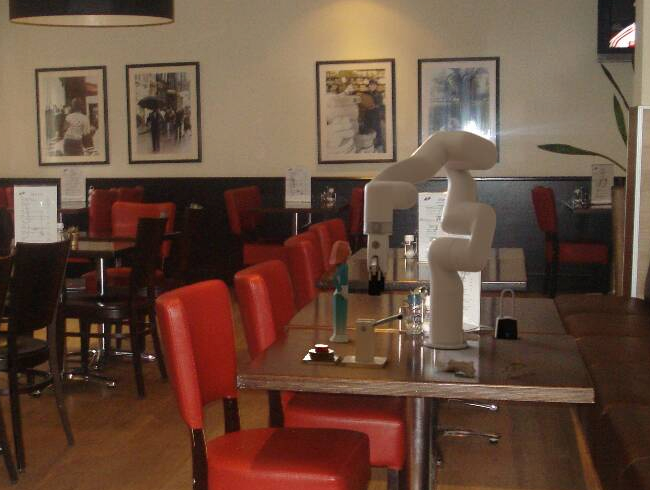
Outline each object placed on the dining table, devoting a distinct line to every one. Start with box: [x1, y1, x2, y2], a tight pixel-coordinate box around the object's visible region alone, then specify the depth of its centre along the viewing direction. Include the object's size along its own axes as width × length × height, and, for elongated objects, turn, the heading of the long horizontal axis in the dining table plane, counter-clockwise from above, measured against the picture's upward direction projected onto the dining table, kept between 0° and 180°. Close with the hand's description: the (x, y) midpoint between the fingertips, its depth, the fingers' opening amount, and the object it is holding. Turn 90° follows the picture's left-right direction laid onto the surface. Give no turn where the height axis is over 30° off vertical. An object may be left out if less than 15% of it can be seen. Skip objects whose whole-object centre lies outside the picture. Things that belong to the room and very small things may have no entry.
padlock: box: [494, 288, 520, 340], centre depth 316 cm, size 7×4×15 cm, turn 80°
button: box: [314, 344, 330, 352], centre depth 281 cm, size 4×4×2 cm
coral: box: [434, 358, 477, 378], centre depth 265 cm, size 6×10×4 cm, turn 61°
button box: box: [302, 348, 342, 363], centre depth 281 cm, size 9×8×3 cm
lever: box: [368, 311, 406, 327], centre depth 276 cm, size 12×5×2 cm, turn 74°
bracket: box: [341, 318, 388, 366], centre depth 277 cm, size 11×9×12 cm
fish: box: [501, 356, 533, 378], centre depth 262 cm, size 12×2×5 cm, turn 126°
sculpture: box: [328, 240, 353, 343], centre depth 311 cm, size 13×7×30 cm, turn 168°
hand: (376, 293), depth 277 cm, fingers open, 9 cm apart
